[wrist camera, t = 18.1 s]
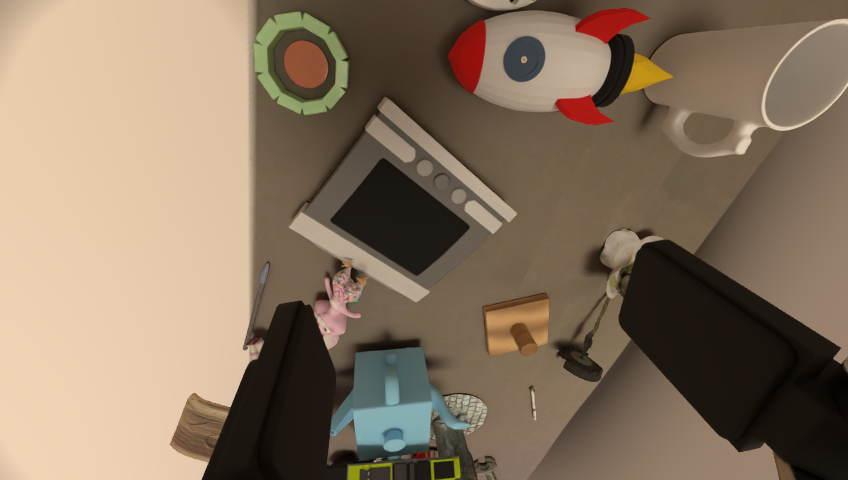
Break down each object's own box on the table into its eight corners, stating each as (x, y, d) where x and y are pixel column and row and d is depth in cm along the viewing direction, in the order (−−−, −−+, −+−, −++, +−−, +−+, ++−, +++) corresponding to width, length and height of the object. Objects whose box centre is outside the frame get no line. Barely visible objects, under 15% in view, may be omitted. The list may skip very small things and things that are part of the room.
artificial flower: (536, 343, 52) (554, 391, 43) (601, 214, 45) (640, 237, 35) (589, 360, 52) (618, 411, 43) (663, 233, 45) (718, 261, 35)
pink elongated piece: (359, 300, 31) (318, 373, 40) (398, 278, 36) (354, 347, 45) (320, 256, 33) (289, 335, 42) (362, 241, 38) (326, 314, 46)
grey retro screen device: (517, 213, 34) (418, 319, 38) (499, 199, 38) (411, 295, 42) (388, 98, 27) (281, 242, 30) (383, 95, 31) (289, 223, 35)
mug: (666, 20, 30) (820, 3, 20) (719, 42, 32) (887, 37, 21) (610, 129, 35) (711, 162, 24) (659, 144, 36) (773, 180, 26)
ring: (245, 22, 26) (236, 20, 24) (338, 8, 26) (335, 5, 25) (278, 116, 30) (272, 120, 28) (359, 103, 30) (358, 106, 28)
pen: (248, 347, 42) (272, 262, 37) (246, 351, 42) (269, 265, 36) (242, 346, 42) (264, 260, 37) (240, 349, 42) (262, 262, 36)
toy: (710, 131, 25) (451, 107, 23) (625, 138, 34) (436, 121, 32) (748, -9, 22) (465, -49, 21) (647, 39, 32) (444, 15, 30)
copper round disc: (278, 44, 27) (276, 44, 27) (321, 36, 27) (320, 36, 27) (293, 91, 29) (292, 92, 28) (333, 84, 29) (333, 84, 29)
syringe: (536, 424, 59) (531, 421, 60) (538, 420, 60) (533, 417, 61) (533, 391, 55) (528, 388, 55) (535, 386, 55) (530, 384, 56)
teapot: (325, 335, 43) (311, 416, 33) (457, 324, 45) (480, 397, 36) (337, 407, 51) (329, 491, 41) (449, 395, 53) (467, 471, 44)
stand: (483, 306, 45) (494, 333, 40) (545, 293, 45) (564, 318, 41) (486, 350, 49) (497, 378, 45) (543, 337, 50) (560, 364, 45)
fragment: (202, 371, 45) (181, 401, 41) (312, 403, 50) (304, 434, 45) (178, 431, 49) (156, 465, 45) (282, 456, 54) (271, 489, 49)
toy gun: (433, 445, 54) (466, 447, 41) (435, 476, 52) (470, 488, 39) (308, 454, 49) (303, 460, 36) (304, 489, 47) (298, 507, 34)
